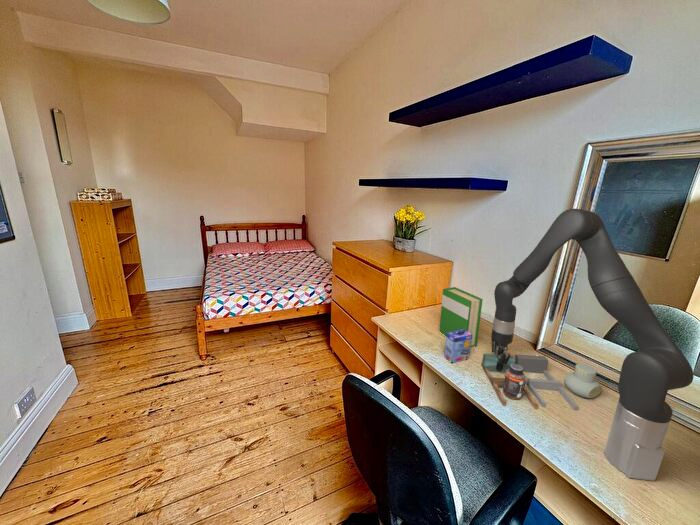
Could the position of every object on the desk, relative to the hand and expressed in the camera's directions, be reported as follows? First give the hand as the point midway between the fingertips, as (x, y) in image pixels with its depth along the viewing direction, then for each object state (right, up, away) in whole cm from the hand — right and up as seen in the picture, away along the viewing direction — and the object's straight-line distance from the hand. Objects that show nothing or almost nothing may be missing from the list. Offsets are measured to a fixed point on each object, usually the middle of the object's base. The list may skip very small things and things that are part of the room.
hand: (497, 367), depth 115 cm
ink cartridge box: (-14, +1, +8) cm, 16 cm away
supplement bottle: (-2, -5, -14) cm, 15 cm away
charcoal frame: (+12, -3, -9) cm, 15 cm away
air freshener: (+24, -5, -12) cm, 27 cm away
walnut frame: (-1, -3, -9) cm, 10 cm away
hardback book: (-7, +5, +24) cm, 26 cm away
